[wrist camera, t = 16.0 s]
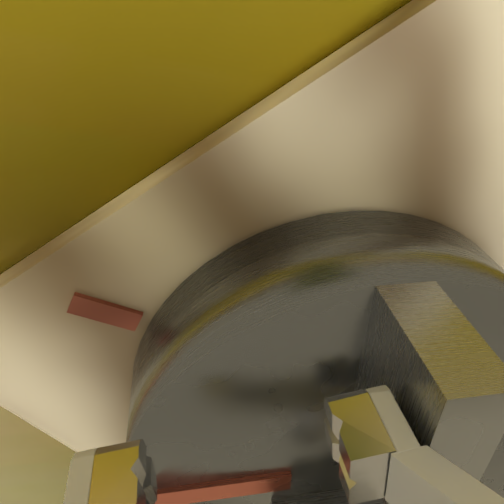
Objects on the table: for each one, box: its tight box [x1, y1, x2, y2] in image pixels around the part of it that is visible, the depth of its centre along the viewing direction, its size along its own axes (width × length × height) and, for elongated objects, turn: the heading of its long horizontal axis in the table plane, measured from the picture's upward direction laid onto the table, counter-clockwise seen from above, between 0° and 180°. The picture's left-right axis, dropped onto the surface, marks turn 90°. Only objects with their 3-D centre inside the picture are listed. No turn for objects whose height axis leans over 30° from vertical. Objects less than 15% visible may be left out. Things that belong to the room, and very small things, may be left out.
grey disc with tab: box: [126, 211, 504, 504], centre depth 16 cm, size 16×16×8 cm
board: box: [0, 0, 504, 452], centre depth 20 cm, size 22×22×1 cm
